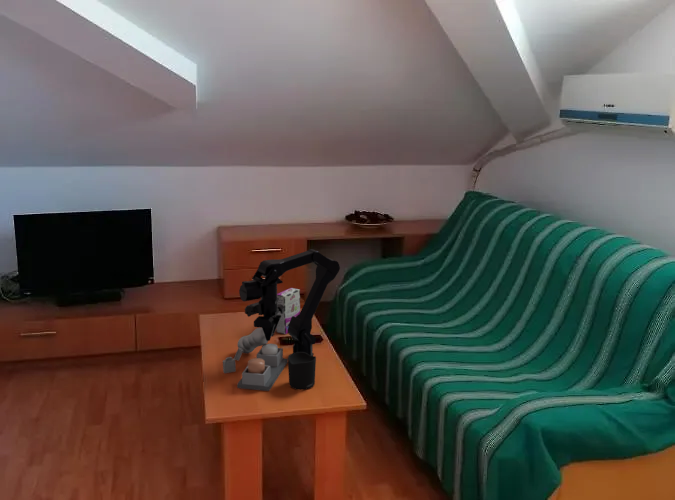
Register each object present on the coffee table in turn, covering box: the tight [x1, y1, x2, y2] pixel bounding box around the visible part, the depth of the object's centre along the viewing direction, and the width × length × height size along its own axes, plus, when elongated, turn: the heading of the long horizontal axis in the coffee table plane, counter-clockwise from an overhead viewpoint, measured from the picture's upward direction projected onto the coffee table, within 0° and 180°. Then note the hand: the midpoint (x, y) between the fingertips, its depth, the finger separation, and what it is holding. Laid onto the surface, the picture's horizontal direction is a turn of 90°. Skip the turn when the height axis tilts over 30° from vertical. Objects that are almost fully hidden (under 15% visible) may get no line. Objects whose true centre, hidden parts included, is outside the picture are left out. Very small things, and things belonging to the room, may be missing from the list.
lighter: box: [222, 347, 243, 374], centre depth 240 cm, size 7×2×8 cm, turn 117°
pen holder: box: [287, 352, 317, 391], centre depth 229 cm, size 9×9×10 cm
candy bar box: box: [275, 287, 301, 335], centre depth 279 cm, size 11×5×16 cm, turn 149°
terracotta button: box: [247, 357, 265, 374], centre depth 229 cm, size 6×6×4 cm
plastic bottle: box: [237, 327, 273, 354], centre depth 249 cm, size 6×7×20 cm
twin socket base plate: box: [236, 347, 288, 392], centre depth 237 cm, size 11×24×6 cm, turn 169°
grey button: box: [261, 343, 279, 356], centre depth 244 cm, size 6×6×4 cm
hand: (269, 338), depth 243 cm, fingers open, 4 cm apart
